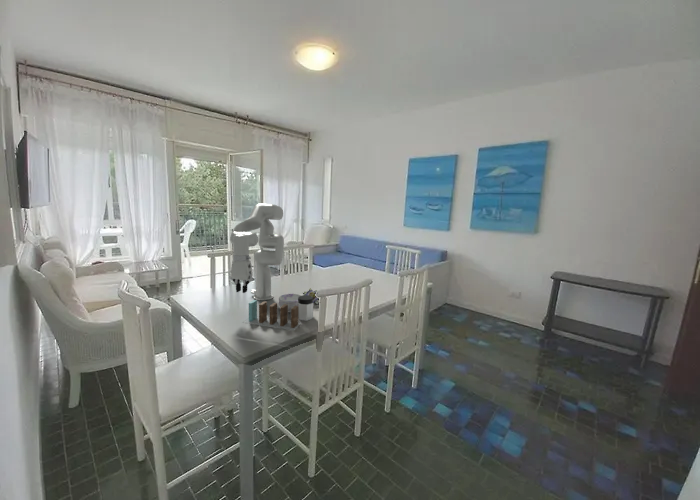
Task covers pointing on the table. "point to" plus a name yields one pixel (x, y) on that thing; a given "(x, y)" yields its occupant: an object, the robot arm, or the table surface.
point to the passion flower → (312, 293)
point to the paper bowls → (289, 300)
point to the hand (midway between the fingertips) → (241, 291)
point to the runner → (275, 325)
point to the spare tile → (252, 310)
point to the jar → (305, 307)
